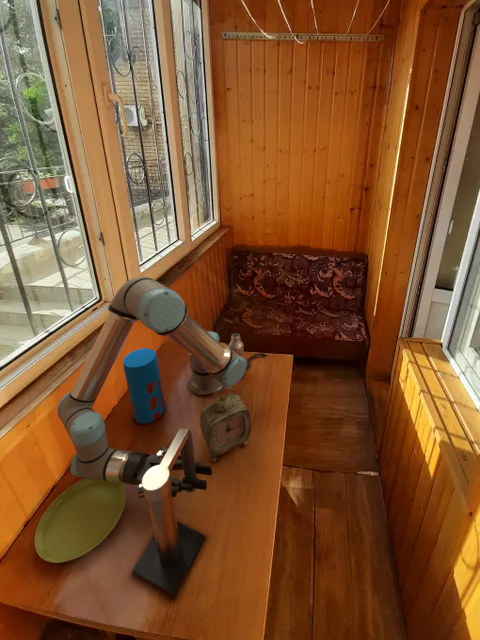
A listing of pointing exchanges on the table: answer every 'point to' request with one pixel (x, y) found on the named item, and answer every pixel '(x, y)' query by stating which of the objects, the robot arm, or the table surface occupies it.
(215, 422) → the tabletop clock
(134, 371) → the thermos
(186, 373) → the table surface
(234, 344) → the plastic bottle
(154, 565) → the standpipe
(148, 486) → the spout
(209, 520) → the table surface
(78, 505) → the green plate
